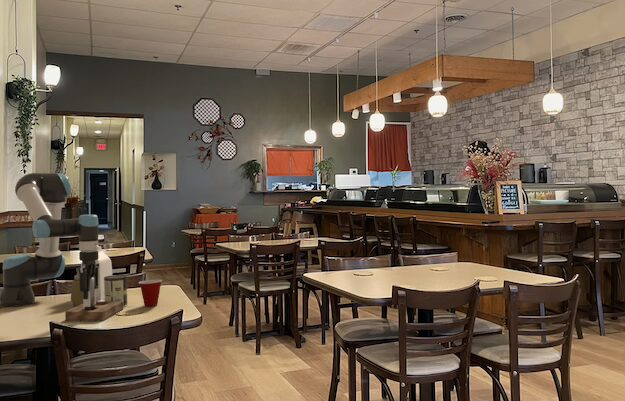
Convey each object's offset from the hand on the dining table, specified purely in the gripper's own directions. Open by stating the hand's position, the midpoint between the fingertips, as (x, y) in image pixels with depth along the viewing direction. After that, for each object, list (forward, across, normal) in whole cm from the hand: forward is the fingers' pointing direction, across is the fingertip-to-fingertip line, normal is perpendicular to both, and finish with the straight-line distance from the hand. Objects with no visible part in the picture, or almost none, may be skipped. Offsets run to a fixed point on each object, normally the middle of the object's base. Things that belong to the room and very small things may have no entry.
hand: (89, 305), depth 218 cm
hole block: (+6, +5, 0) cm, 8 cm away
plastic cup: (+6, +25, -17) cm, 31 cm away
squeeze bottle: (+6, +24, +17) cm, 30 cm away
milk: (+6, +43, +18) cm, 47 cm away
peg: (+3, 0, 0) cm, 3 cm away
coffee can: (+6, +23, -1) cm, 24 cm away
